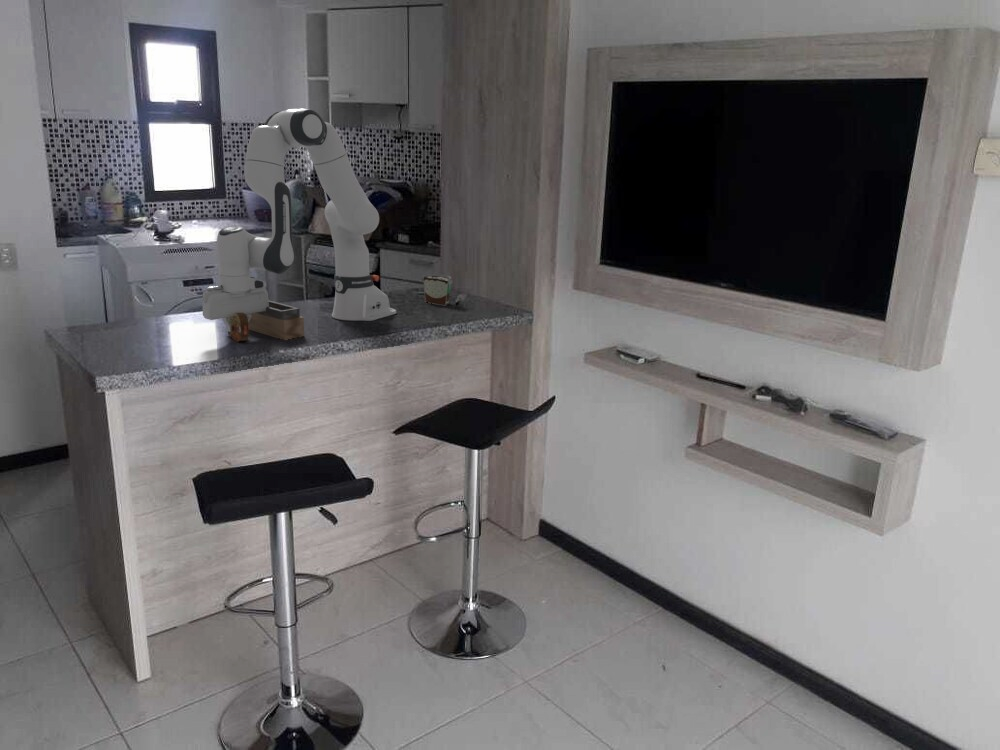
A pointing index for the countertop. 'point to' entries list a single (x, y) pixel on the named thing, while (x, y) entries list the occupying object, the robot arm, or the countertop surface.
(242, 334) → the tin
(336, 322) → the countertop surface
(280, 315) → the open rectangular box
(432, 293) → the food container
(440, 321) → the countertop surface
